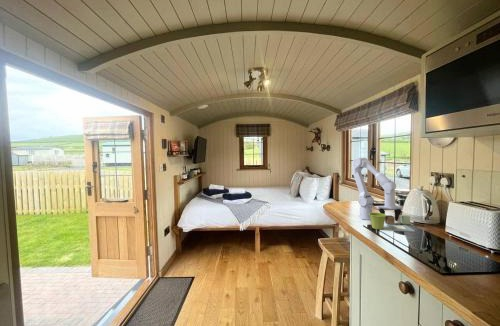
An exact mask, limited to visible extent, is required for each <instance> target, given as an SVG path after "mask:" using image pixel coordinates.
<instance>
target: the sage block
mask: <svg viewBox="0 0 500 326" xmlns="http://www.w3.org/2000/svg"><path fill="white" fill-rule="evenodd" d="M399 218H400V223H401V225H411V216H409V215H407V214H400V215H399Z"/></svg>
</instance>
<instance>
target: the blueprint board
mask: <svg viewBox="0 0 500 326" xmlns="http://www.w3.org/2000/svg"><path fill="white" fill-rule="evenodd" d="M386 226H387V227H388V228H390V230H392V231H393V232H403V233H404V232H406V233H407V232H410V233H415V232H416V231H415V230H414V229H413V228H411V227H409V226H408V225H407V224H394V225H389V224H386Z"/></svg>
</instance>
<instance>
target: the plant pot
mask: <svg viewBox="0 0 500 326" xmlns="http://www.w3.org/2000/svg"><path fill="white" fill-rule="evenodd" d="M369 215H370V218H371V220H370V222H371V223H370V224H371V227H372V229H375V230H379V231H380V230H384V225H385V221H384V220H385V216H386V215H387V214H386V213H385V214H382V213H380V212H372V213H369Z"/></svg>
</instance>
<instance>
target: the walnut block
mask: <svg viewBox="0 0 500 326" xmlns="http://www.w3.org/2000/svg"><path fill="white" fill-rule="evenodd" d="M385 215H386V216H385V221H384V224H386V225H395V216H393V215H387V214H385Z"/></svg>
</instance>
